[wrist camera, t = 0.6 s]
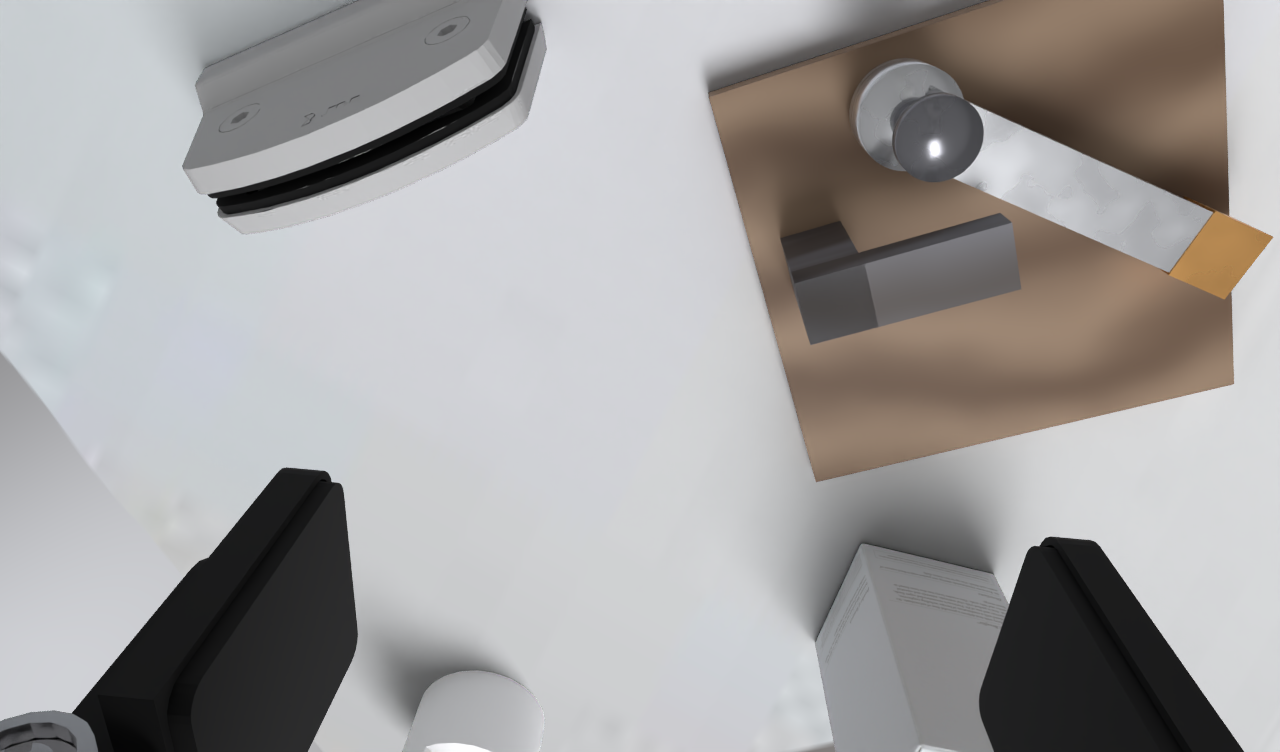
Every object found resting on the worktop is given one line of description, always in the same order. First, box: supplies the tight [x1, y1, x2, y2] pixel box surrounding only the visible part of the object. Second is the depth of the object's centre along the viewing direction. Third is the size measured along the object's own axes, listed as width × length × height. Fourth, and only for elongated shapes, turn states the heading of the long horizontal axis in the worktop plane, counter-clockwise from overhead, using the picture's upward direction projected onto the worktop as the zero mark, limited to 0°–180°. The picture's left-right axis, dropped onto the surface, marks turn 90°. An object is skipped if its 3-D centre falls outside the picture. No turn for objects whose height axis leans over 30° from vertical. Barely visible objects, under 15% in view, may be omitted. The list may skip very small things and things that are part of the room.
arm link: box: [849, 58, 1273, 300], centre depth 36 cm, size 19×4×8 cm, turn 68°
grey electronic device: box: [182, 0, 547, 234], centre depth 38 cm, size 17×5×10 cm, turn 111°
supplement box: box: [815, 544, 1009, 752], centre depth 47 cm, size 9×9×15 cm
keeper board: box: [708, 0, 1234, 482], centre depth 39 cm, size 22×22×8 cm
